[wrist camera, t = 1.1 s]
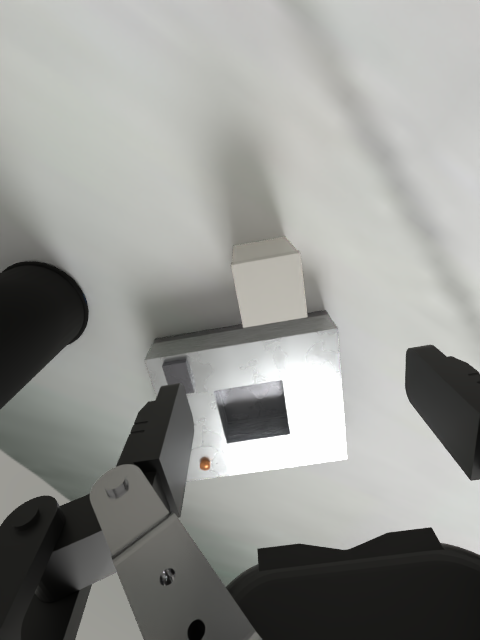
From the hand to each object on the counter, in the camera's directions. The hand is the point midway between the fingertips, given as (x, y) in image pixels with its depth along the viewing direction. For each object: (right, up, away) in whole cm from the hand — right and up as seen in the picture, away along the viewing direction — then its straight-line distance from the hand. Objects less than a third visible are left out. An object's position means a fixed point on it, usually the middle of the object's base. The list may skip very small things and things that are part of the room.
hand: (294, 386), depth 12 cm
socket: (-1, -4, +21) cm, 22 cm away
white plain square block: (0, +7, +17) cm, 18 cm away
